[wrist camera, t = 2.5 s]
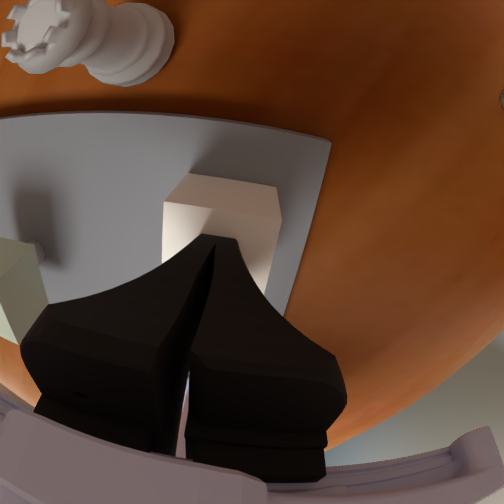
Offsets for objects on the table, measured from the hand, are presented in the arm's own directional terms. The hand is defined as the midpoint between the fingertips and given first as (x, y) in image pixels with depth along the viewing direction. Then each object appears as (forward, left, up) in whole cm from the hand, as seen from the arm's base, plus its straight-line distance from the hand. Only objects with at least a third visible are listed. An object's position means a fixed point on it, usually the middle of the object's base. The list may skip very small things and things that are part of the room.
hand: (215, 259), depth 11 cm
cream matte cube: (0, 0, -4) cm, 4 cm away
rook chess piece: (+8, +6, -6) cm, 11 cm away
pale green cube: (-4, +12, -2) cm, 13 cm away
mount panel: (-2, +7, -5) cm, 9 cm away
